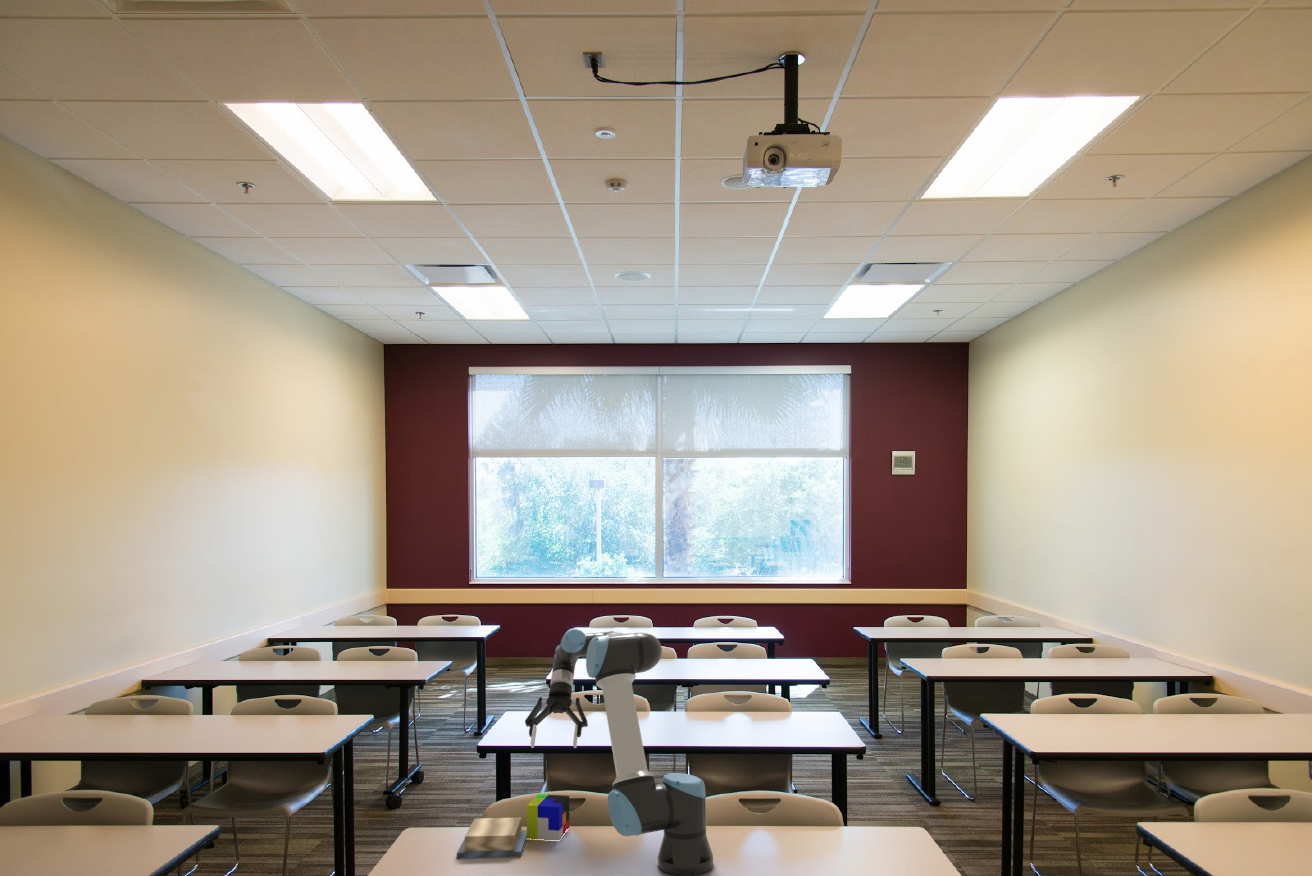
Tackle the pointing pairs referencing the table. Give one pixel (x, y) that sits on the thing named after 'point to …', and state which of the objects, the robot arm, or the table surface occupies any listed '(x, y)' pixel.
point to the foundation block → (493, 838)
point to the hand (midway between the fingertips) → (553, 745)
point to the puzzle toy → (547, 817)
